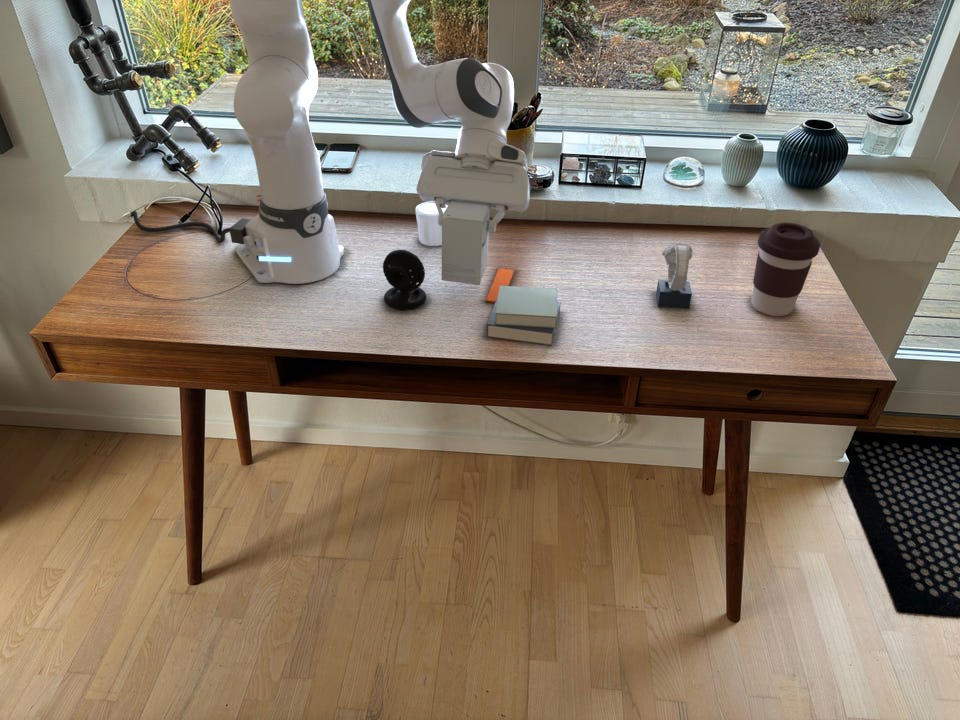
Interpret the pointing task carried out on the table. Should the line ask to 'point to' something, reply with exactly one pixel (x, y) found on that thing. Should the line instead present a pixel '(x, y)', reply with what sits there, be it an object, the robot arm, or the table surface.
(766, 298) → the coffee cup
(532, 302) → the book stack
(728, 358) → the table surface
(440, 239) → the white cup
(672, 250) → the watch
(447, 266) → the white packaging box
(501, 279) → the orange rectangular block
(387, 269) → the webcam
